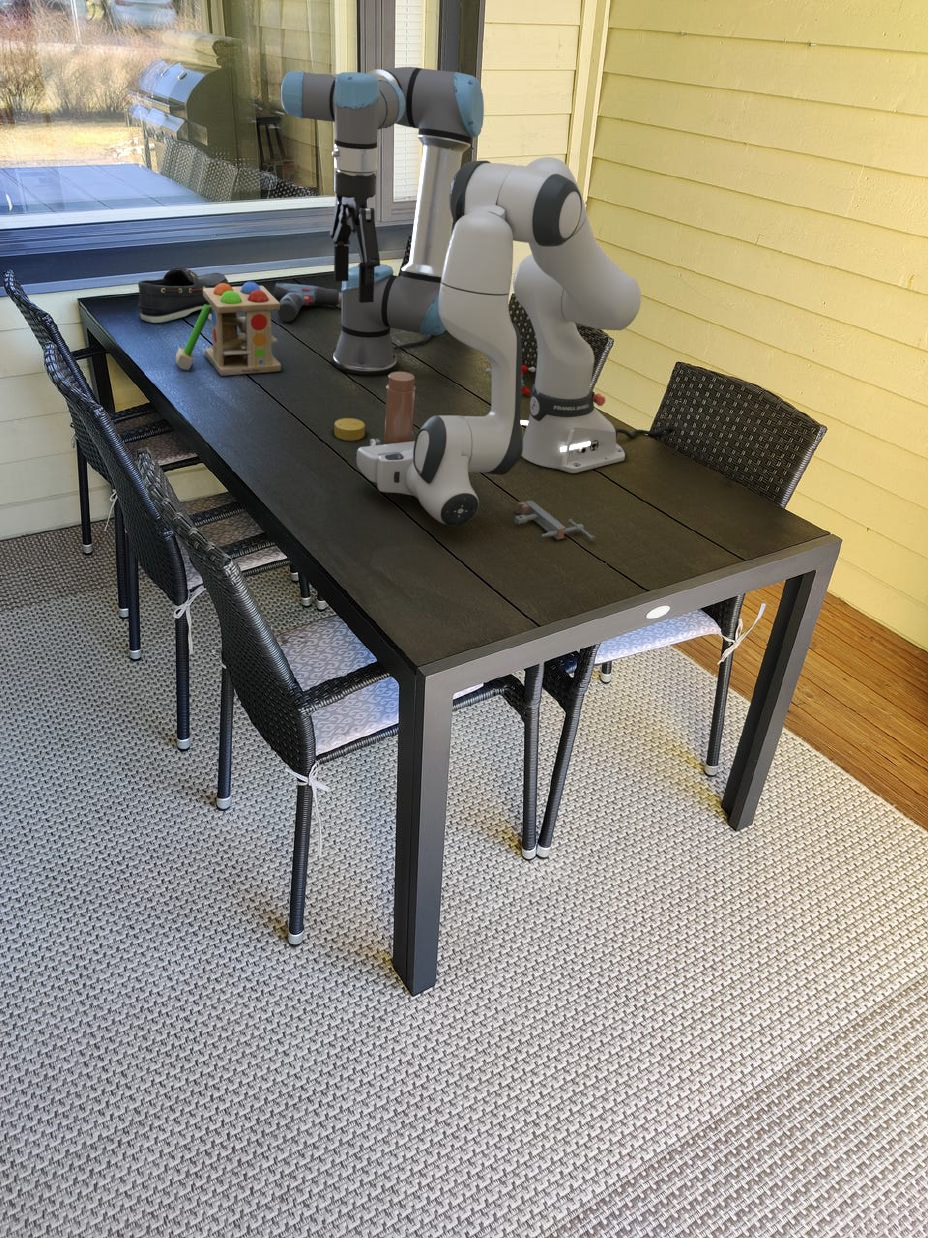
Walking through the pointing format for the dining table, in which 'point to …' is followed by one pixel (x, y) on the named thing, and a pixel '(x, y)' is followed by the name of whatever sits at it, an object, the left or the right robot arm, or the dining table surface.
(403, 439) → the jar
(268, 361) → the pounding bench toy
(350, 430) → the lid
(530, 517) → the clamp
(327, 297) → the power drill
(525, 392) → the molecular model
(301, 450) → the dining table surface
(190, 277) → the boat shoe
